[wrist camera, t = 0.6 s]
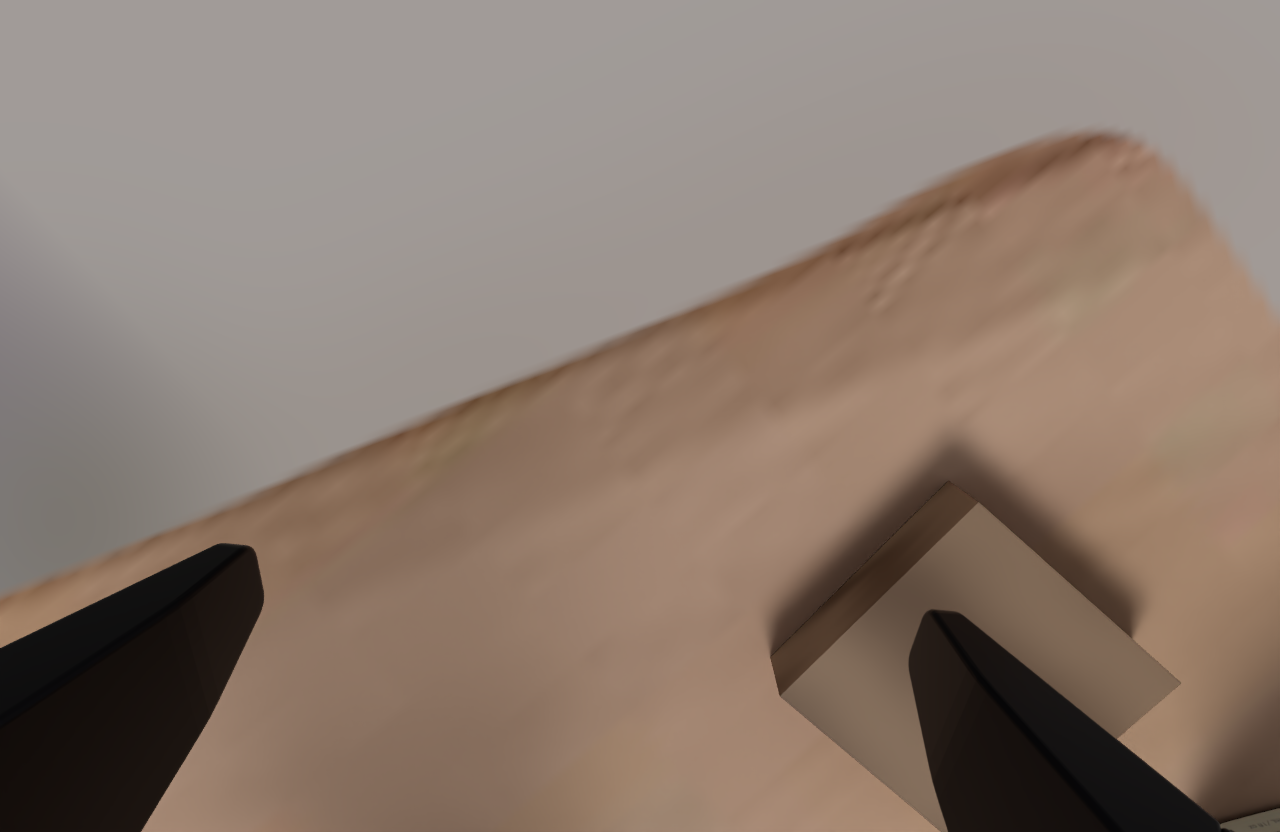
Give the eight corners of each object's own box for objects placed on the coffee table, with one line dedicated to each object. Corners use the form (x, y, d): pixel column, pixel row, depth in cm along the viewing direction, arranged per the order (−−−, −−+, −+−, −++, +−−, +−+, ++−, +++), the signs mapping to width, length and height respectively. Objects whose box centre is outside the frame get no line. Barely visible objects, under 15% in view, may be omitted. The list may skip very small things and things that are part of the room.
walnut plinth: (947, 806, 26) (974, 860, 24) (770, 657, 26) (779, 696, 23) (1131, 644, 25) (1181, 683, 22) (948, 480, 24) (978, 502, 22)
